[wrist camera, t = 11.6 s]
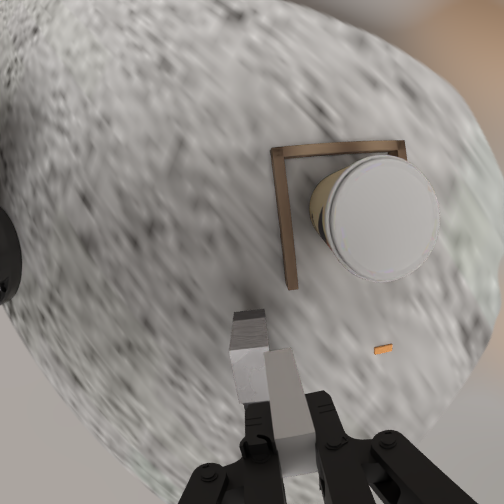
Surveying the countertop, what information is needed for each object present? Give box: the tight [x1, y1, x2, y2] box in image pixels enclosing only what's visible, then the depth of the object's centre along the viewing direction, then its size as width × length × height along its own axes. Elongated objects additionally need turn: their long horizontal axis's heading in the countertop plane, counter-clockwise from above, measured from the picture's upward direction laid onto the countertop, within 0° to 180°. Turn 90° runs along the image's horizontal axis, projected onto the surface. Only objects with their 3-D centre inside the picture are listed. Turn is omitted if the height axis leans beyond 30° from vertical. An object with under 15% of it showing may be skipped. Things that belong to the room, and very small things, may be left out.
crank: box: [229, 309, 270, 410], centre depth 26 cm, size 12×4×7 cm, turn 7°
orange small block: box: [374, 344, 392, 355], centre depth 35 cm, size 2×1×1 cm, turn 97°
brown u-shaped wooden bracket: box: [270, 140, 407, 290], centre depth 31 cm, size 14×14×2 cm
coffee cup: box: [309, 155, 440, 282], centre depth 26 cm, size 9×9×12 cm
